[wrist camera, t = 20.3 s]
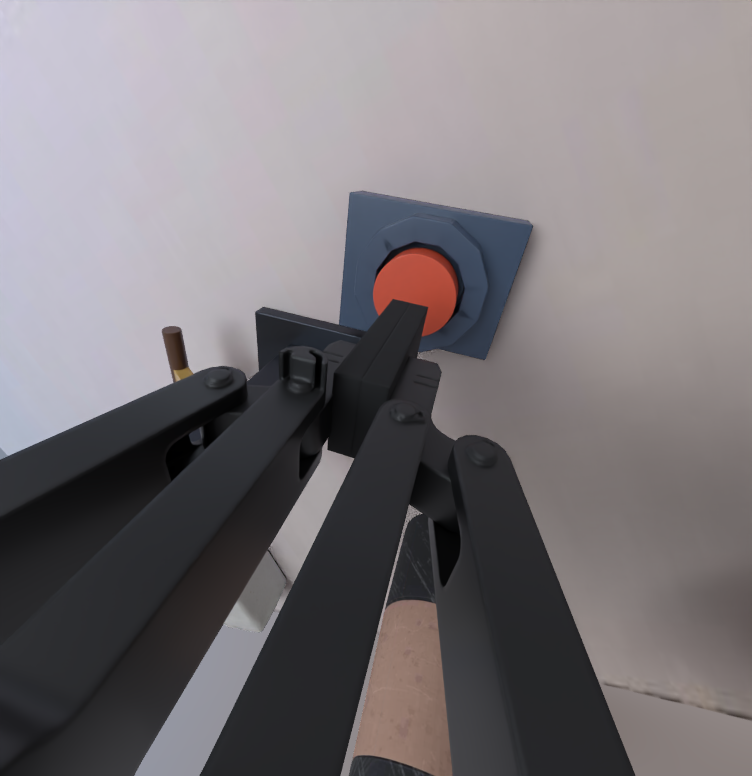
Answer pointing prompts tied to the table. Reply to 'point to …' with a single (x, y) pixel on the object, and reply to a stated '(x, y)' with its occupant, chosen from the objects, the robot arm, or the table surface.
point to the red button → (419, 285)
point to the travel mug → (407, 675)
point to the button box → (452, 240)
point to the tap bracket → (289, 342)
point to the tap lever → (176, 353)
